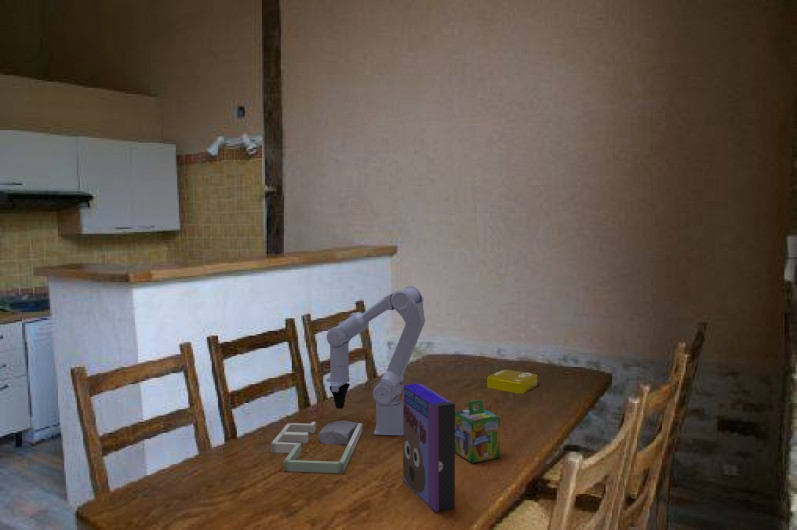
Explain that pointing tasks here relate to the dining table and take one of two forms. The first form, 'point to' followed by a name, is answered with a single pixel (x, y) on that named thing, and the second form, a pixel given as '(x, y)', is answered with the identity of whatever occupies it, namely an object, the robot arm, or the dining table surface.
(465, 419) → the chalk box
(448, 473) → the cereal box
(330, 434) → the stone block
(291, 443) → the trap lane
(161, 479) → the dining table surface
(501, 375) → the element tile
